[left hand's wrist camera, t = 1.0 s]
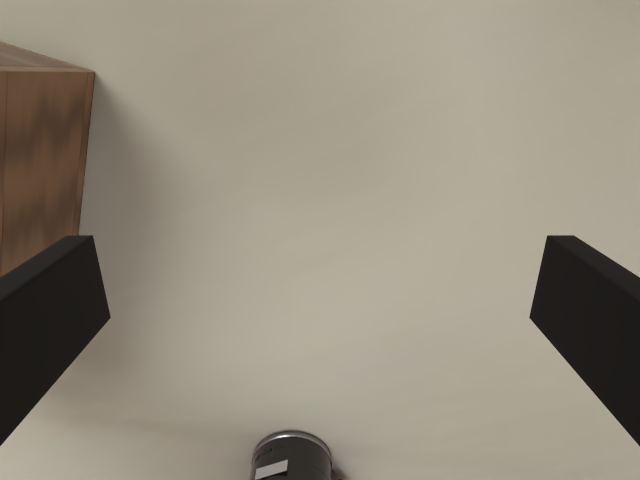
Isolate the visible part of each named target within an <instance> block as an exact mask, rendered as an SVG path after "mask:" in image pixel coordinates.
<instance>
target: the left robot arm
mask: <svg viewBox="0 0 640 480" xmlns="http://www.w3.org/2000/svg"><path fill="white" fill-rule="evenodd" d="M110 318H111V317H110V313H109V308H108V303H107V299H106V294H105V290H104V285H103V281H102V276H101V271H100V267H99V262H98V258H97V253H96V248H95V244H94V239H93V236H65V237H63V238H62V239H60V240H58V241H57V242H55V243H54V244H52V245H51V246H49V247H47V248H46V249H44V250H43V251H41V252H40V253H38V254H36V255H35V256H33V257H32V258H30V259H29V260H27V261H26V262H24V263H22V264H21V265H19V266H18V267H16V268H15V269H13V270H11V271H10V272H8V273H7V274H5V275H4V276H2V277H0V446H1V445H2V444H3V442H4V441H5V440H6V439H7V438H8V437H9V435H10V434H11V433H12V432H13V431H14V430H15V428H16V427H17V426H18V425H19V424H20V423H21V421H22V420H23V419H24V418H25V417H26V416H27V414H28V413H29V412H30V411H31V410H32V409H33V407H34V406H35V405H36V404H37V403H38V402H39V400H40V399H41V398H42V397H43V396H44V395H45V393H46V392H47V391H48V390H49V389H50V388H51V386H52V385H53V384H54V383H55V382H56V381H57V379H58V378H59V377H60V376H61V375H62V374H63V372H64V371H65V370H66V369H67V368H68V367H69V365H70V364H71V363H72V362H73V361H74V360H75V358H76V357H77V356H78V355H79V354H80V353H81V351H82V350H83V349H84V348H85V347H86V346H87V344H88V343H89V342H90V341H91V340H92V339H93V338H94V336H95V335H96V334H97V333H98V332H99V331H100V329H101V328H102V327H103V326H104V325H105V324H106V322H107V321H108V320H109V319H110ZM529 318H530V319H531V320H532V321H533V322H534V324H535V325H536V326H537V327H538V328H539V329H540V331H541V332H542V333H543V334H544V335H545V336H546V338H547V339H548V340H549V341H550V342H551V343H552V344H553V346H554V347H555V348H556V349H557V350H558V351H559V353H560V354H561V355H562V356H563V357H564V358H565V360H566V361H567V362H568V363H569V364H570V365H571V367H572V368H573V369H574V370H575V371H576V372H577V374H578V375H579V376H580V377H581V378H582V379H583V381H584V382H585V383H586V384H587V385H588V386H589V388H590V389H591V390H592V391H593V392H594V393H595V395H596V396H597V397H598V398H599V399H600V400H601V402H602V403H603V404H604V405H605V406H606V407H607V409H608V410H609V411H610V412H611V413H612V414H613V416H614V417H615V418H616V419H617V420H618V421H619V423H620V424H621V425H622V426H623V427H624V428H625V430H626V431H627V432H628V433H629V434H630V435H631V437H632V438H633V439H634V440H635V441H636V442H637V444H638V445H639V446H640V277H638V276H636V275H635V274H633V273H632V272H630V271H629V270H627V269H625V268H624V267H622V266H621V265H619V264H618V263H616V262H614V261H613V260H611V259H610V258H608V257H607V256H605V255H604V254H602V253H600V252H599V251H597V250H596V249H594V248H593V247H591V246H589V245H588V244H586V243H585V242H583V241H582V240H580V239H578V238H577V237H575V236H547V239H546V244H545V248H544V253H543V258H542V262H541V267H540V271H539V276H538V281H537V285H536V290H535V294H534V299H533V303H532V308H531V313H530V317H529Z"/></svg>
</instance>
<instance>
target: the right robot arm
mask: <svg viewBox="0 0 640 480" xmlns="http://www.w3.org/2000/svg"><path fill="white" fill-rule="evenodd" d="M250 480H335V473H334V471H333V470H332V458H331V454H330V451H329V449H328V448H327V446H326V445H325V444H324V443H323V442H322V441H320V440H319V439H318V438H316V437H314V436H312V435H309V434H307V433H303V432H296V431H286V432H280V433H276V434H273V435H271V436H269V437H267V438H265V439H264V440H263V441H261V442H260V443H259V444H258V446H257V447H256V449H255V451H254V453H253V458H252V469H251V475H250ZM340 480H341V479H340Z"/></svg>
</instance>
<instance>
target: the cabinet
mask: <svg viewBox="0 0 640 480" xmlns="http://www.w3.org/2000/svg"><path fill="white" fill-rule="evenodd" d="M94 75H95V72H94V71H91V70H88V69H84V68H81V67H78V66H75V65H72V64H69V63H65V62H62V61H59V60H56V59H53V58H50V57H47V56H43V55H40V54H37V53H34V52H31V51H28V50H24V49H21V48H18V47H15V46H12V45H9V44H6V43H2V42H0V277H2V276H4V275H5V274H7V273H8V272H10V271H11V270H13V269H15V268H16V267H18V266H19V265H21V264H22V263H24V262H26V261H27V260H29V259H30V258H32V257H33V256H35V255H36V254H38V253H40V252H41V251H43V250H44V249H46V248H47V247H49V246H51V245H52V244H54V243H55V242H57V241H58V240H60V239H62V238H63V237H65V236H78V231H79V221H80V211H81V201H82V192H83V182H84V172H85V162H86V153H87V143H88V133H89V124H90V114H91V104H92V94H93V85H94Z"/></svg>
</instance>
